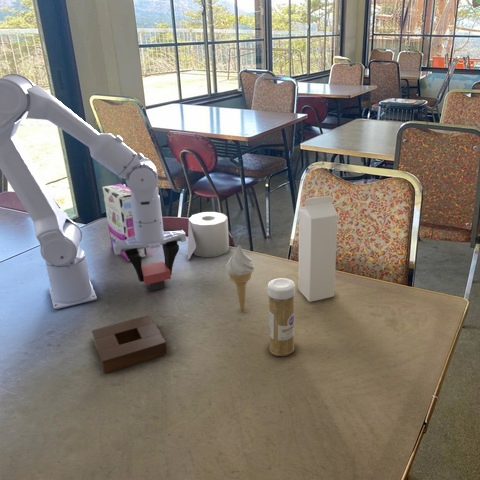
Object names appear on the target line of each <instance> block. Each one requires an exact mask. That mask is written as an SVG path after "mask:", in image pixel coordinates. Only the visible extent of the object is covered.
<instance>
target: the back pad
mask: <svg viewBox="0 0 480 480" xmlns="http://www.w3.org/2000/svg"><path fill="white" fill-rule="evenodd" d="M141 267H142V273H143V283H144V285H145V286H146V285H147V287H148V288H149V290H150V291H151V292H152V291H156V290H161V289H165V288H166V283H165V281H168V280H172V275H171V274H170V270H169V269H168V267H167V266H166V265H165V261H163V260H162V261H158V262H153V263H152V262H151V263H149V264H143V265H141Z"/></svg>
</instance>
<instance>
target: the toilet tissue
mask: <svg viewBox="0 0 480 480" xmlns="http://www.w3.org/2000/svg"><path fill="white" fill-rule="evenodd" d="M228 217H229V216H227V215H226V214H224V213H223V212H216V211H202V212H198V213H195V214H192V215H191V216H190V217H189V218H188V226H187V227H188V229H187V230H188V231H187V259H188V261H189V260H190V259H191V257H192V255H194V256H198V257H202V258H213V257H219V256H222V255H224V254H227V252H228V251H229V249H230V238H229V237H230V236H229V220H228V219H229V218H228Z"/></svg>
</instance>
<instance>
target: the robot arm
mask: <svg viewBox="0 0 480 480" xmlns="http://www.w3.org/2000/svg"><path fill="white" fill-rule="evenodd" d="M26 113H27V114H26ZM25 114H26V119H32V120H42V121H43V120H44V121H48V122H50V123H51V124H53V125H54V126H56V127H58V128H59V129H61V130H62V131H64V132H65V133H67V134H68V135H70V136H71V137H73V138H74V139H76V140H77V141H79V142H80V143H82V144H83V145H85V146H86V147H87V148H88V150H89V154H90V158H92V159H94V160H95V161H96V162H97V163H99V164H100V165H101V166H103V167H105V169H107V170H108V171H110V172H111V173H113V174H115V175H116V177H118V178H120V179H124V180H125V183H126V187H127V188H129V189H130V192H131V198H130V202H131V209H132V216H133V224H134V231H135V237H132V238H129V239H126V240H123V241H120V242H116V243H113V248H112V249H113V253H114V254H115V256H118V255H121V253H122V252H125V254H126V255H127V257H128V258H129V260H130V261H129V262H130V263H131V264H132V266H133V268H134V270H135V273H136V275H137V279H138V280H139V282H140V283H142V282H143V283H144V281H143V273H142V267H141V266H142V258H141V256H140V254H139V251H138V250H137V249H142V248H146V249H147V248H149V249H156V248H160V247H161V246H162V253H163V259H164V263H165V265H166V266H167V267H168V269H169V270H170V274H171V276H172V274H173V273H172V272H173V266H174V262H175V259H176V257H177V254H178V253H179V251H180V245H179V243H178V242H181V243H184V242H187V237H186V235H187V234H186V232H185V231H184V230H183V229H181V230H174V231H171V230H170V231H164V221H163V214H162V213H163V211H162V204H161V197H160V195H159V192H160V191H159V183H160V182H159V176H158V169H157V167H156V165H155V164H154V163H153V162H152V160H151V159H150V158H148V157H145V156H144V155H143V154H142V153H141V152H139V153H137V152H136V151H134V150H133V149H131V148H130V147H129V146H127V145H126V144H125V143H124V142H123V141H124V139H123V138H122V137H121V136H120V135H118V134H117V135H115V136H114V135H113V134H112V133H100V132H98V131H97V130H96V129H94V127H92V126H91V125H90V124H88V123H87V122H86V121H84V120H83V119H82V118H81V117H80V116H78V115H77V114H76V113H74V112H73V111H72V110H71V109H70V108H68V107H67V106H66V105H65V104H63V103H62V102H61V101H60V100H58V99H57V98H56V97H55V96H54V95H52V94H51V93H50V92H48V91H47V90H46V89H45V88H43V87H41V86H39V84H34V83H33V82H32V81H31V79H29V78H27V76H24V75H22V74H19V73H8V74H5V75H3V76H2V77H0V171H1V172H2V174H3V175H4V177H5V179H6V180H7V182H8V183H9V185H10V187H11V189H12V190H13V191H14V193H15V195H16V196H17V199H18V200H19V201H20V203H21V205H22V206H23V209H25V211H26V213H27V215H28V216H29V217H30V219H31V221H32V222H33V228H34V232H35V238H36V240H37V241H38V243H39V246H40V247H39V249H40V255H41V257H42V259H43V260H44V262H45V266H46V271H47V275H48V280H49V284H50V287H48V291H49V294H50V298H51V303H52V307H53V309H54V310H59V309H63V308H68V307H71V306H77V305H80V304H85V303H88V302H93V301H96V300H97V298H98V297H97V294H96V291H95V290H94V287H93V284H92V282H91V279H90V274H89V268H88V263H87V257H86V253H85V251H84V250H83V249H82V248H81V246H80V244H81V241H82V240H83V231H82V228H81V227H80V226H79V224H77V223H76V222H74V221H73V220H72V219H71V218H70V217H69V215H68V214H67V212H66V211H64V210H63V209H61V208H60V207H59V205H58V203H57V201H56V200H55V198H54V196H53V195H52V194H51V192H50V190H49V188H48V186H47V184H46V183H45V181H44V180H43V178H42V176H41V174H40V173H39V171H38V169H37V168H36V166H35V163H34V162H33V160H32V159H31V157H30V156H29V154H28V152H27V151H26V149H25V147H24V145H23V144H22V142H21V140H20V139H19V136H18V135H17V131H18V128H19V126H20V124H21V122H22V120H23V117H24V115H25Z"/></svg>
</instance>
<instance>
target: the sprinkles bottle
mask: <svg viewBox="0 0 480 480" xmlns="http://www.w3.org/2000/svg"><path fill="white" fill-rule="evenodd" d="M295 294H296V285H295V282H294V280H293V279H292V280H291V279H290V278H285V277H278V278H274V279H272V280H270V281H269V282H268V283H267V296H268V328H269V329H268V331H269V334H268V335H269V352H270V353H271V354H273V355H274V356H278V357H286V356H289V355H291V354H292V353H293V352H294V351H295V342H294V341H295Z"/></svg>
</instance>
